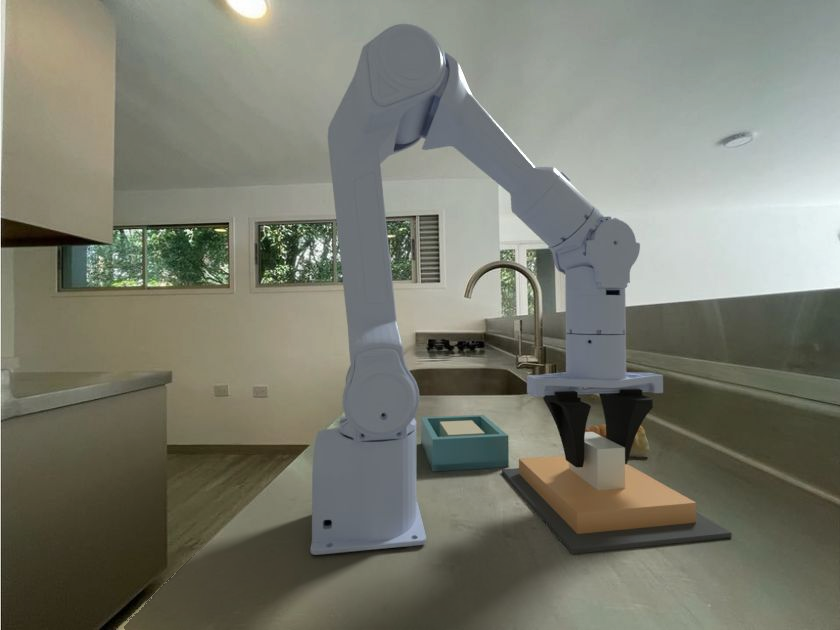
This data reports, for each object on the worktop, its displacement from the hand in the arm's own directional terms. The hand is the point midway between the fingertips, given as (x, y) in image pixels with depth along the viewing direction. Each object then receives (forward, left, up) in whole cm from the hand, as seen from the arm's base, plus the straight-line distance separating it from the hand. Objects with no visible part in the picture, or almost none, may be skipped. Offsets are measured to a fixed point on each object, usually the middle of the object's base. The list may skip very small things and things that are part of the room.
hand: (596, 462), depth 36 cm
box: (-11, +14, -4) cm, 18 cm away
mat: (0, 0, -4) cm, 4 cm away
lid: (0, 0, -2) cm, 3 cm away
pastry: (+12, +13, -4) cm, 19 cm away
